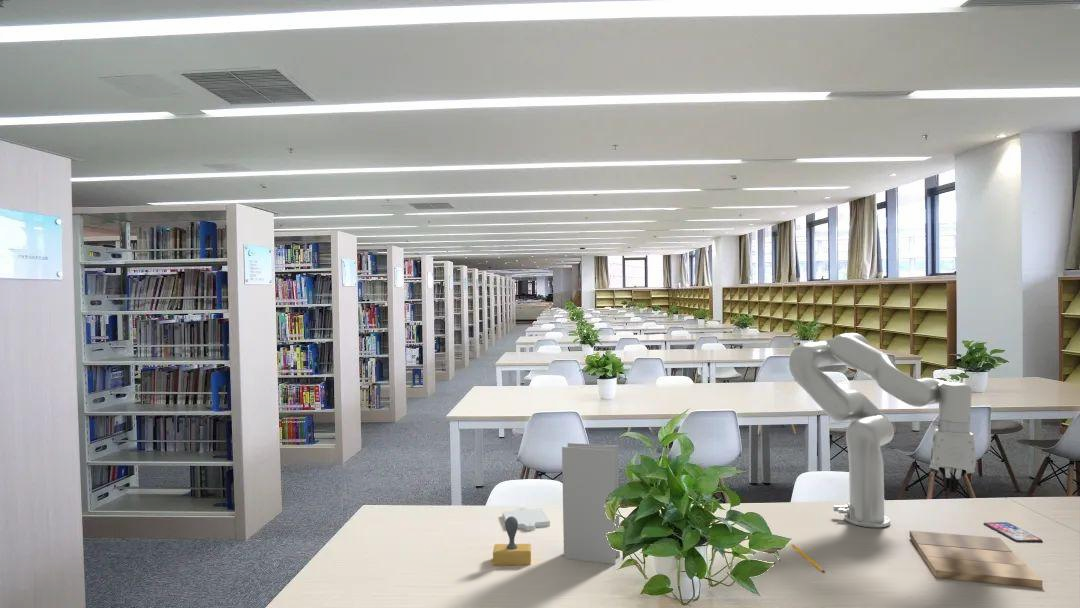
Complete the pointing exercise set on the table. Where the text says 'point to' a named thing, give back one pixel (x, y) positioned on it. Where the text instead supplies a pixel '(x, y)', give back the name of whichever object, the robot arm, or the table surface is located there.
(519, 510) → the mounting plate
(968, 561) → the laid floor
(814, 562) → the pencil
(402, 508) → the table surface
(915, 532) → the walnut plank
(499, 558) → the rubber stamp
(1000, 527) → the smartphone
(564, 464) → the brochure
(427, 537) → the table surface
